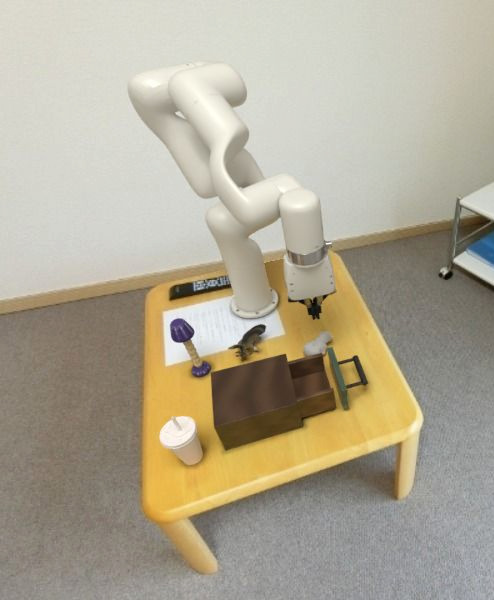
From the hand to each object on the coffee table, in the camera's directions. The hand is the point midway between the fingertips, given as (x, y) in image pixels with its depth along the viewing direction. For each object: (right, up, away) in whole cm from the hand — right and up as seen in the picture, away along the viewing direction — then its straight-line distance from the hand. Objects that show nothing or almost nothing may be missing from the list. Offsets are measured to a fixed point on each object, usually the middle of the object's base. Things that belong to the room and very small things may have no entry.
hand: (315, 315), depth 98 cm
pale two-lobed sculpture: (-1, -9, +9) cm, 13 cm away
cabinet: (-11, -21, -4) cm, 24 cm away
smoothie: (-22, -28, -12) cm, 38 cm away
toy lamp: (-28, -14, +3) cm, 31 cm away
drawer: (+2, -17, -1) cm, 17 cm away
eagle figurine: (-18, -9, +9) cm, 22 cm away
